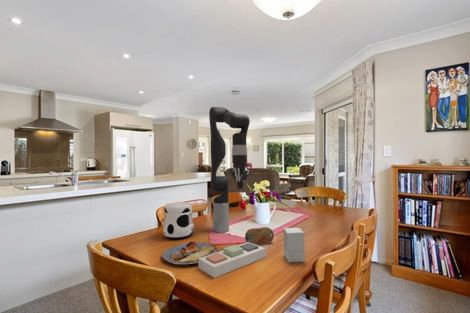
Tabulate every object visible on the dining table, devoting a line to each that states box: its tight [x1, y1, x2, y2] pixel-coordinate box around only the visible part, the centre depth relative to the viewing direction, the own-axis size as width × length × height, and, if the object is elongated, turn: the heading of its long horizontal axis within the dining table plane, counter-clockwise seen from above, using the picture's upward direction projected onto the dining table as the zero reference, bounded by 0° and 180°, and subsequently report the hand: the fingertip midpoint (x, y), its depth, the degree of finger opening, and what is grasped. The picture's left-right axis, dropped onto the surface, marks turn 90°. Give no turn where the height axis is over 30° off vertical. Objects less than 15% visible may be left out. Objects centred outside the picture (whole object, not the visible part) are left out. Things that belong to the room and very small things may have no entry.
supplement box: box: [283, 227, 306, 263], centre depth 109 cm, size 7×7×13 cm
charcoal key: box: [239, 242, 259, 252], centre depth 112 cm, size 6×6×3 cm
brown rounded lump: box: [244, 226, 275, 246], centre depth 128 cm, size 15×3×8 cm, turn 105°
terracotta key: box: [206, 253, 227, 264], centre depth 101 cm, size 6×6×3 cm
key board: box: [198, 242, 267, 279], centre depth 107 cm, size 11×28×4 cm, turn 130°
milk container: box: [162, 201, 195, 239], centre depth 144 cm, size 17×17×18 cm
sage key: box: [223, 244, 243, 258], centre depth 107 cm, size 6×6×3 cm
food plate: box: [161, 241, 218, 266], centre depth 115 cm, size 25×23×4 cm
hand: (240, 188), depth 125 cm, fingers closed
